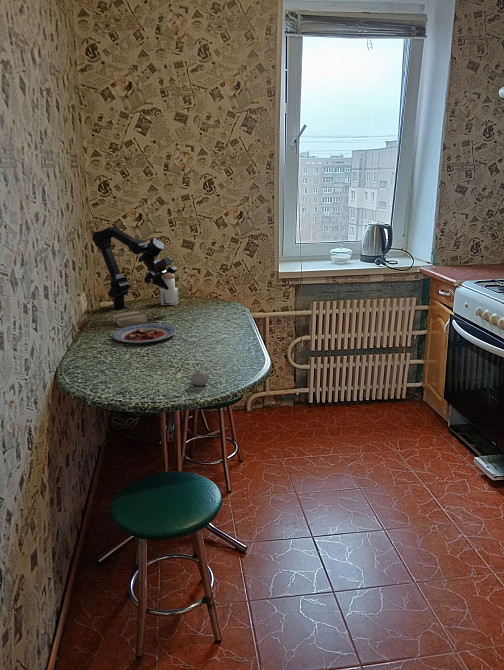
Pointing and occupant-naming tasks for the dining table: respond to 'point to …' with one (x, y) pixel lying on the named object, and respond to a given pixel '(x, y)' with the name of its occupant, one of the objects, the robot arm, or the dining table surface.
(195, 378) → the garlic
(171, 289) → the jar
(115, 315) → the base block
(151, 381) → the dining table surface
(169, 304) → the container
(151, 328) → the ceramic plate
